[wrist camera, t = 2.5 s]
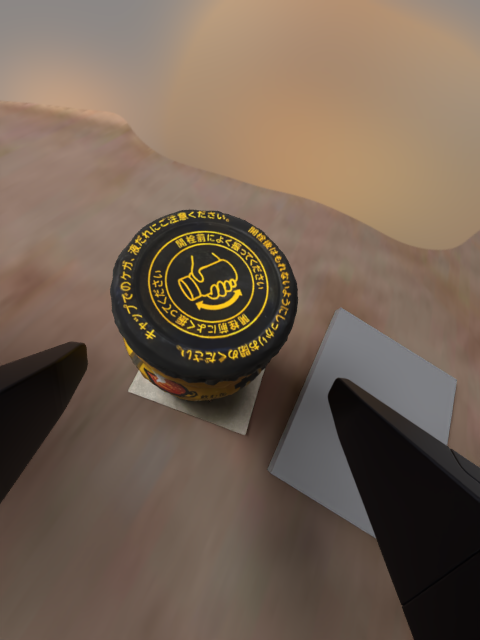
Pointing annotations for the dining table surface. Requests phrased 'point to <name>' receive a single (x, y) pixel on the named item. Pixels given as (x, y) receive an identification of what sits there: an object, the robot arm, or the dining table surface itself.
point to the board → (377, 379)
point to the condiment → (203, 312)
